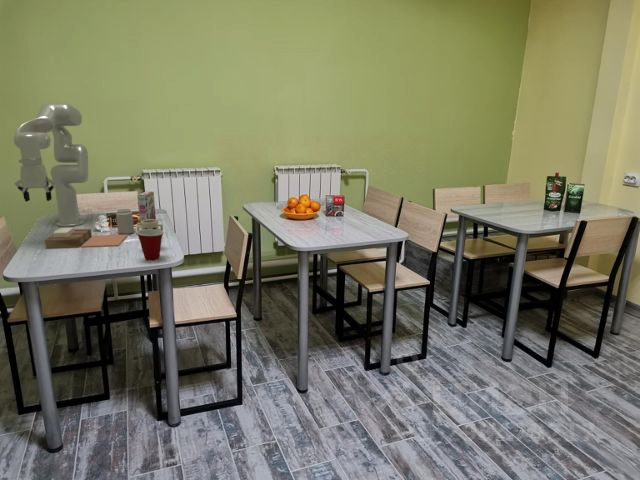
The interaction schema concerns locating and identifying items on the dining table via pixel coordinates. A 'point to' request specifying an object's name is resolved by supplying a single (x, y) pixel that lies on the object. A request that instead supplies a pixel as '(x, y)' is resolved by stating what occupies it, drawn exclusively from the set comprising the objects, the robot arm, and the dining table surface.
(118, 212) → the can
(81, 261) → the dining table surface
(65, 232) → the tile
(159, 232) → the plastic cup
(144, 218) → the candy bar box
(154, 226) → the character mug
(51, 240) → the brown flat block
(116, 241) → the mat
